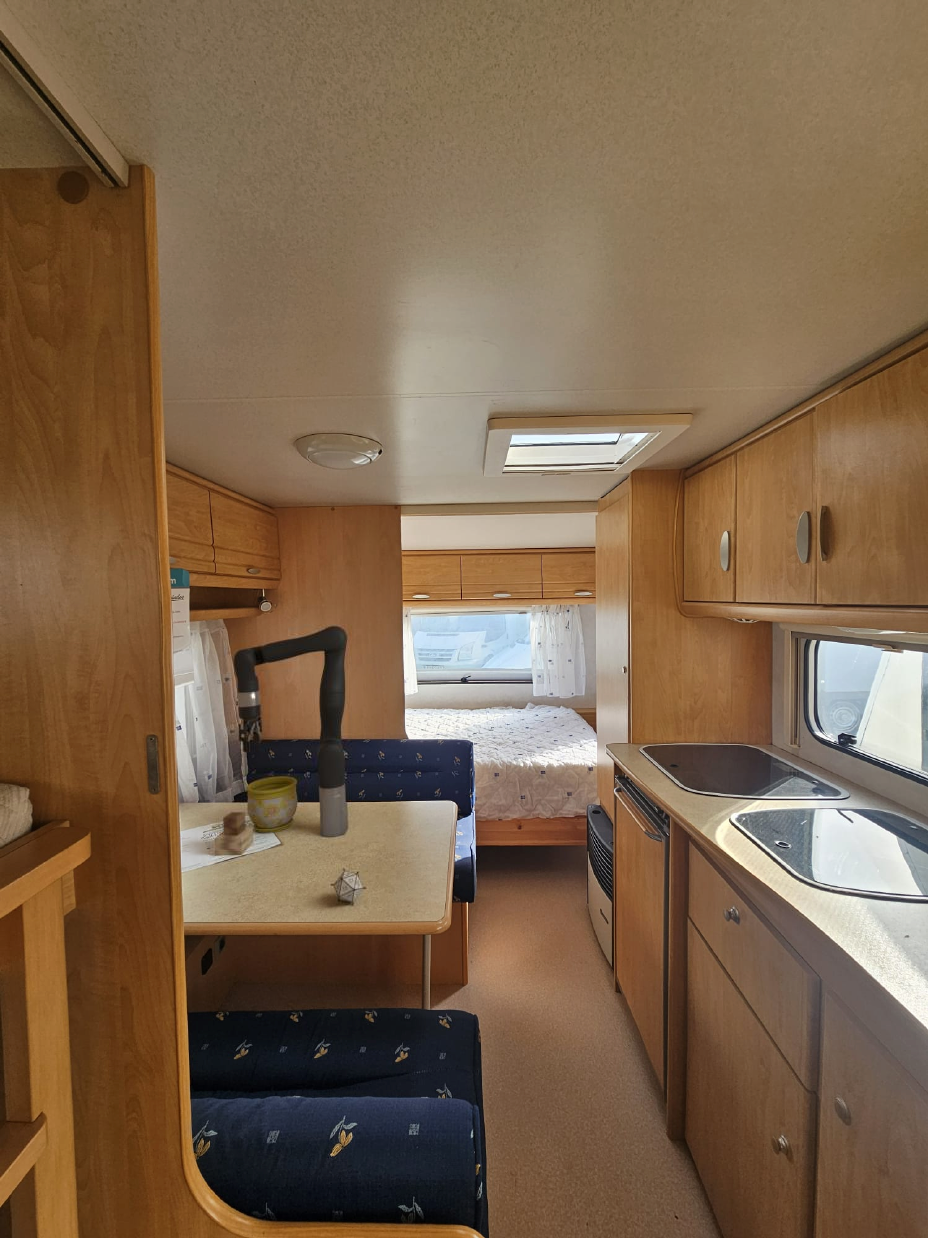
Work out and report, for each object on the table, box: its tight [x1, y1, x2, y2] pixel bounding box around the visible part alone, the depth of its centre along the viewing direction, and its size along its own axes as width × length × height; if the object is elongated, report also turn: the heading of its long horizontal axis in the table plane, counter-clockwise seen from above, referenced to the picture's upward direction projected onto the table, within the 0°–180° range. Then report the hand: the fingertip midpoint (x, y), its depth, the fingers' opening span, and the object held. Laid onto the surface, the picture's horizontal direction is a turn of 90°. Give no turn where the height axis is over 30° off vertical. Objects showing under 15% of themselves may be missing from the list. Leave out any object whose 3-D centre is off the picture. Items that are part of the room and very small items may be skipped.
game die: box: [329, 867, 367, 906], centre depth 143 cm, size 9×8×10 cm
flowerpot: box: [246, 775, 298, 834], centre depth 198 cm, size 18×18×16 cm
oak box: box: [214, 826, 254, 857], centre depth 179 cm, size 9×9×6 cm
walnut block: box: [222, 811, 246, 836], centre depth 179 cm, size 5×5×6 cm
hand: (251, 748), depth 187 cm, fingers open, 8 cm apart
